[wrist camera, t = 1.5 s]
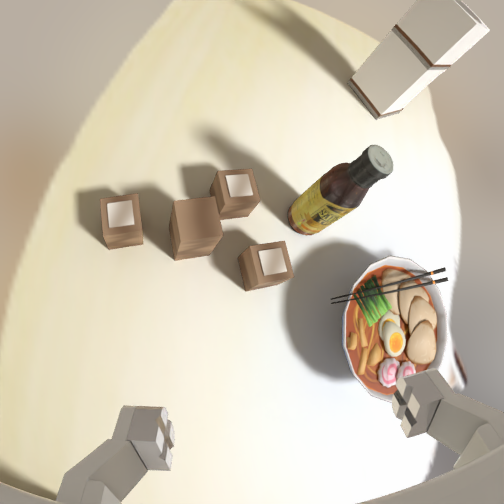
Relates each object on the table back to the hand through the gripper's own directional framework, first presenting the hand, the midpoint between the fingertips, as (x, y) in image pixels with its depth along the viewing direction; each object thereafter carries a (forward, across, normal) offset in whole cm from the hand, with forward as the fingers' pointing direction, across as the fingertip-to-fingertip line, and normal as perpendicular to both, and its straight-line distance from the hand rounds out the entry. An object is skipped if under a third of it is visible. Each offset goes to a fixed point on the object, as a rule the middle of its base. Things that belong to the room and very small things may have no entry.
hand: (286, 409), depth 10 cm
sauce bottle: (+43, -10, +5) cm, 44 cm away
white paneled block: (+36, -1, +11) cm, 37 cm away
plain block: (+36, +8, +5) cm, 37 cm away
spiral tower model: (+68, -34, -17) cm, 78 cm away
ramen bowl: (+34, -20, +23) cm, 46 cm away
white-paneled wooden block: (+41, +2, +1) cm, 41 cm away
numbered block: (+35, +17, +2) cm, 39 cm away
